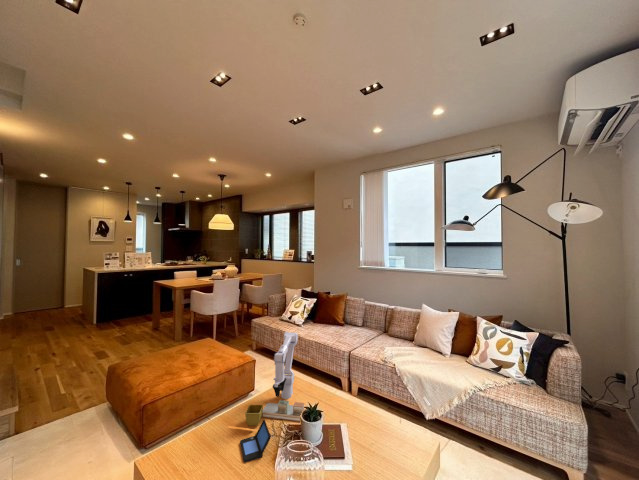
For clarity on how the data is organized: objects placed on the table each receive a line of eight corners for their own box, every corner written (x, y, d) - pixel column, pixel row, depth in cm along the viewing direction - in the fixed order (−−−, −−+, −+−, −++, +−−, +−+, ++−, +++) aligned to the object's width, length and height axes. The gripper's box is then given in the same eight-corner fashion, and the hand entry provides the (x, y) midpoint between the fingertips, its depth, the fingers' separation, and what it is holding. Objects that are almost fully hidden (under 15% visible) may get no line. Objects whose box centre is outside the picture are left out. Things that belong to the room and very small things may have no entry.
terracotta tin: (294, 411, 168) (294, 402, 168) (304, 412, 167) (304, 403, 167) (293, 415, 164) (293, 405, 164) (302, 416, 162) (302, 406, 163)
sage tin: (280, 409, 170) (280, 400, 170) (289, 410, 169) (289, 400, 169) (277, 413, 166) (277, 403, 166) (286, 414, 165) (286, 404, 165)
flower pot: (259, 429, 153) (259, 413, 153) (244, 429, 153) (244, 413, 153) (263, 419, 162) (263, 404, 162) (249, 419, 162) (249, 404, 162)
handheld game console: (239, 442, 143) (239, 425, 143) (264, 435, 148) (264, 418, 148) (244, 463, 128) (244, 444, 129) (271, 455, 134) (271, 436, 134)
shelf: (267, 404, 178) (267, 399, 178) (311, 408, 172) (310, 404, 172) (258, 418, 163) (258, 413, 163) (305, 423, 157) (305, 418, 158)
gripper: (277, 367, 181) (277, 387, 180) (269, 376, 167) (269, 398, 166) (287, 367, 180) (287, 388, 179) (280, 377, 165) (280, 399, 164)
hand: (279, 393), depth 172 cm, fingers open, 7 cm apart
